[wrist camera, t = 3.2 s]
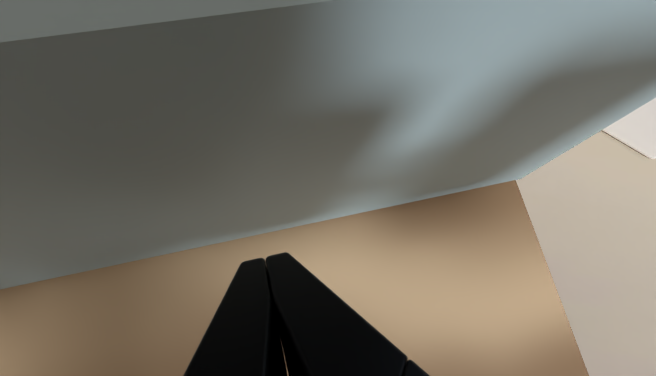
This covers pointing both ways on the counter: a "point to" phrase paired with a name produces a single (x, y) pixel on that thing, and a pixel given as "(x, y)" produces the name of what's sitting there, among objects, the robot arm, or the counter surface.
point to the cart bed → (338, 275)
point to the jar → (637, 129)
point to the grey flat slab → (285, 112)
